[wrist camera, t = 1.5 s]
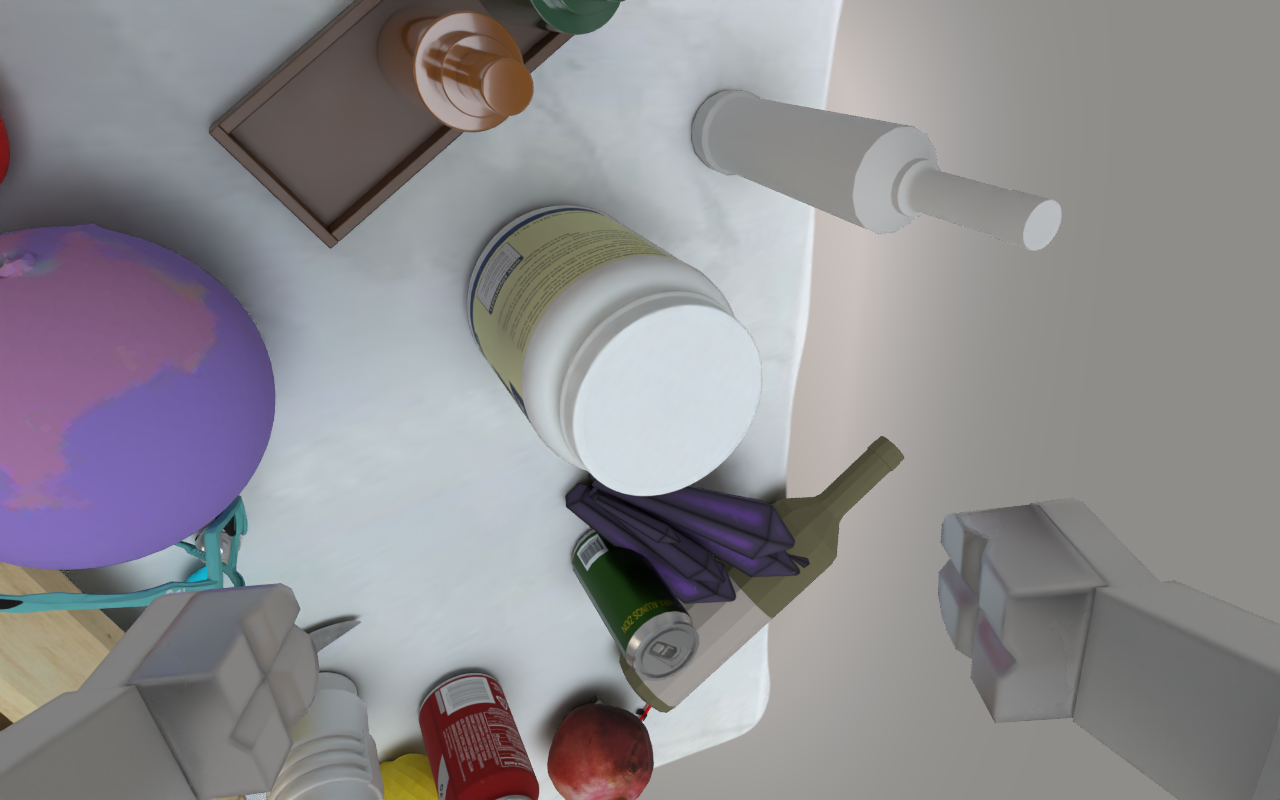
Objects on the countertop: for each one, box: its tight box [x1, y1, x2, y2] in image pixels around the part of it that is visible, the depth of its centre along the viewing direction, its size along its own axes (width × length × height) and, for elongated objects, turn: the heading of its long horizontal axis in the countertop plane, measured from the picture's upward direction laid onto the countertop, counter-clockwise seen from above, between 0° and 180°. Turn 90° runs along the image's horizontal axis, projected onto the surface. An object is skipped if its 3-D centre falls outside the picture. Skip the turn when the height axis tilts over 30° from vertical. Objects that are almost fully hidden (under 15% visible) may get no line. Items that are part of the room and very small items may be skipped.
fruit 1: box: [379, 753, 439, 800], centre depth 61 cm, size 6×6×8 cm
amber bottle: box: [377, 5, 534, 132], centre depth 35 cm, size 5×5×16 cm
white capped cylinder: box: [266, 672, 384, 800], centre depth 51 cm, size 7×7×15 cm
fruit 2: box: [547, 695, 654, 800], centre depth 66 cm, size 9×10×10 cm
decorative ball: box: [0, 223, 275, 570], centre depth 35 cm, size 15×15×15 cm
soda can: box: [419, 673, 539, 800], centre depth 58 cm, size 7×7×12 cm
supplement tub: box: [467, 205, 762, 496], centre depth 44 cm, size 12×12×17 cm
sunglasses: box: [0, 495, 247, 613], centre depth 38 cm, size 14×15×5 cm
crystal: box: [566, 473, 810, 604], centre depth 59 cm, size 7×12×20 cm
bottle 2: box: [619, 436, 904, 713], centre depth 67 cm, size 7×7×30 cm
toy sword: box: [0, 562, 246, 800], centre depth 42 cm, size 12×3×30 cm
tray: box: [209, 0, 574, 248], centre depth 41 cm, size 21×8×2 cm, turn 125°
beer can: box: [572, 529, 699, 681], centre depth 57 cm, size 5×5×12 cm
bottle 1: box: [692, 91, 1061, 251], centre depth 41 cm, size 5×5×25 cm
